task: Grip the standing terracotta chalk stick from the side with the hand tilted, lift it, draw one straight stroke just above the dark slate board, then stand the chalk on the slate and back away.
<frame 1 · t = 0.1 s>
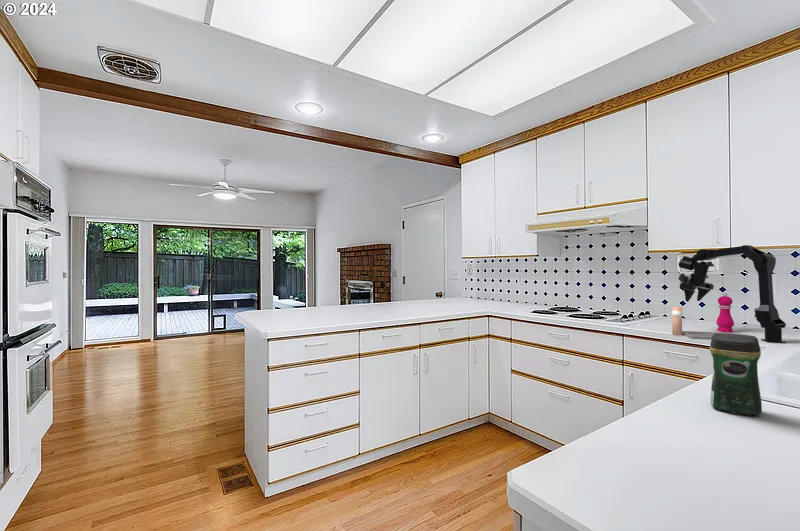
hand: (692, 301, 214), 15 cm above the countertop, tool pointing down, fingers open, 9 cm apart
coffee jar: (735, 411, 98), on the countertop
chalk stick: (677, 334, 200), on the countertop
pepper mill: (725, 331, 209), on the countertop
slate board: (706, 336, 195), on the countertop
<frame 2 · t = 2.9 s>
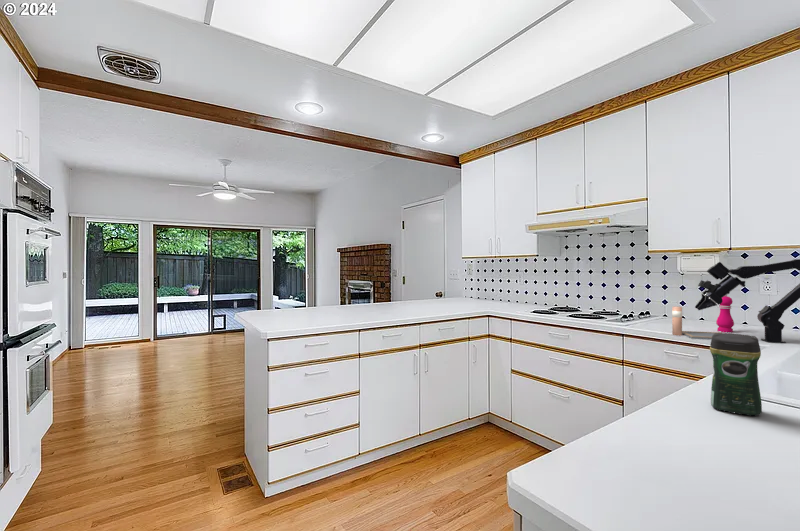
hand: (696, 308, 196), 13 cm above the countertop, tool tilted 45°, fingers open, 9 cm apart
nothing on the countertop moved.
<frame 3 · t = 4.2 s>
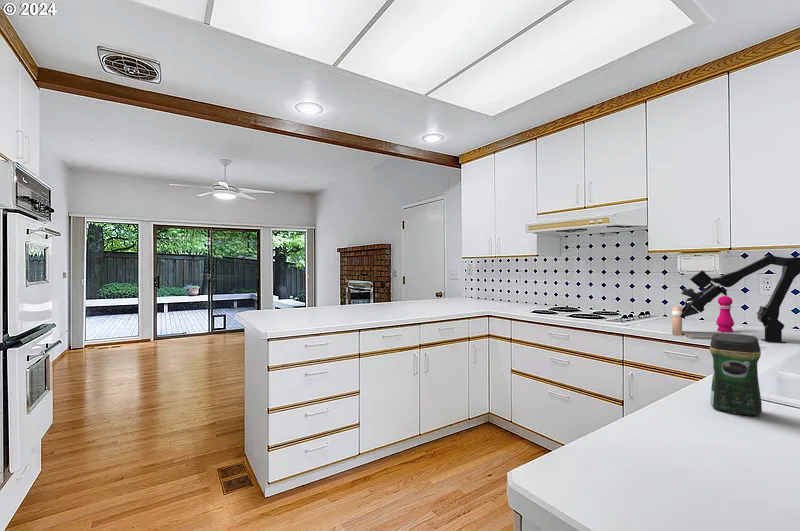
hand: (679, 316, 200), 9 cm above the countertop, tool tilted 45°, fingers open, 9 cm apart
nothing on the countertop moved.
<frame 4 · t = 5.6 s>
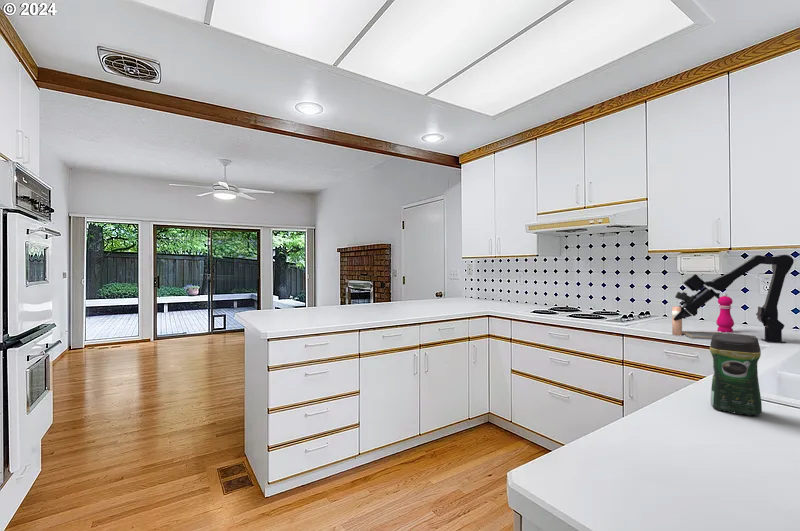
hand: (673, 319, 201), 8 cm above the countertop, tool tilted 45°, fingers closed on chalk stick, 4 cm apart
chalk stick: (677, 334, 200), on the countertop, touching gripper
everything else where it was.
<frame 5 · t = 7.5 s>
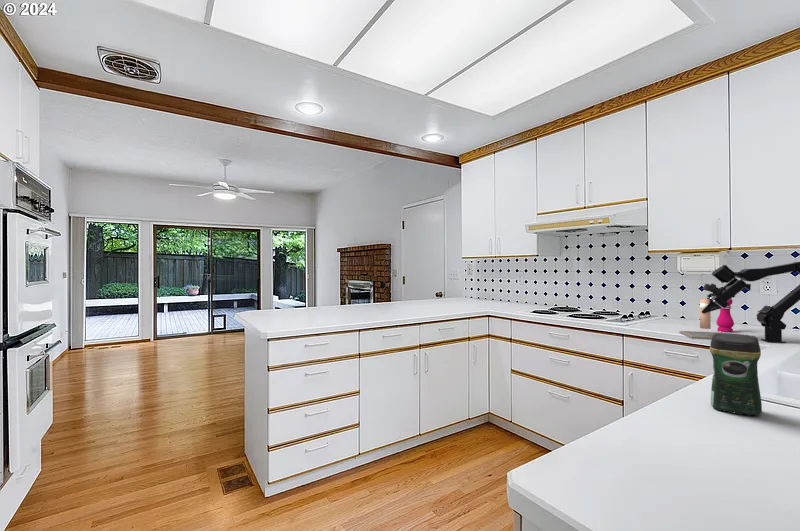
hand: (701, 312, 193), 12 cm above the countertop, tool tilted 45°, fingers closed on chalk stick, 4 cm apart
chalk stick: (705, 328, 193), point 5 cm above the countertop, touching gripper
everything else where it was.
when the fingers open (9 cm above the countertop, at t = 9.7 s): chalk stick stays where it is, resting on slate board.
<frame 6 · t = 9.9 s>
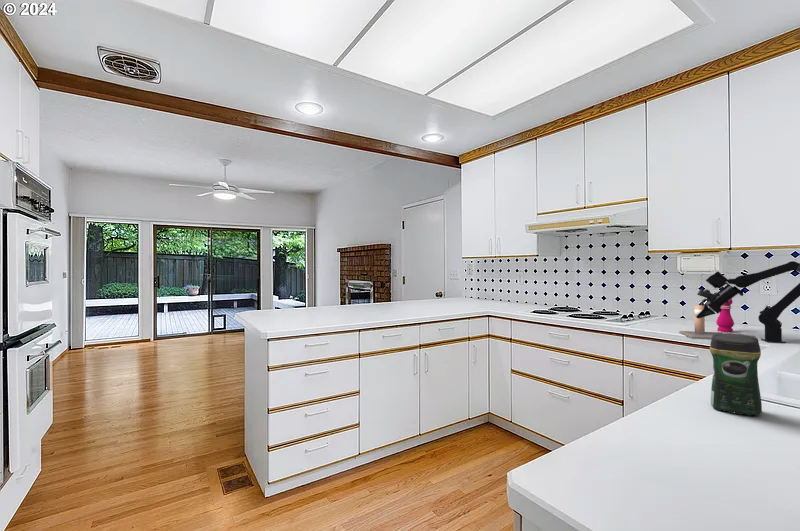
hand: (696, 317, 199), 9 cm above the countertop, tool tilted 45°, fingers open, 6 cm apart
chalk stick: (699, 333, 199), point 1 cm above the countertop, touching slate board
everything else where it was.
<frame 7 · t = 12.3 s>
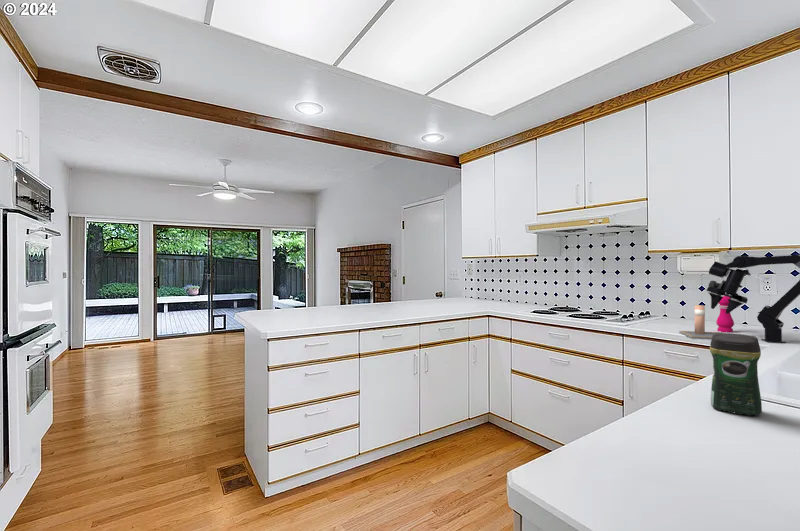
hand: (719, 311, 196), 12 cm above the countertop, tool tilted 20°, fingers open, 9 cm apart
nothing on the countertop moved.
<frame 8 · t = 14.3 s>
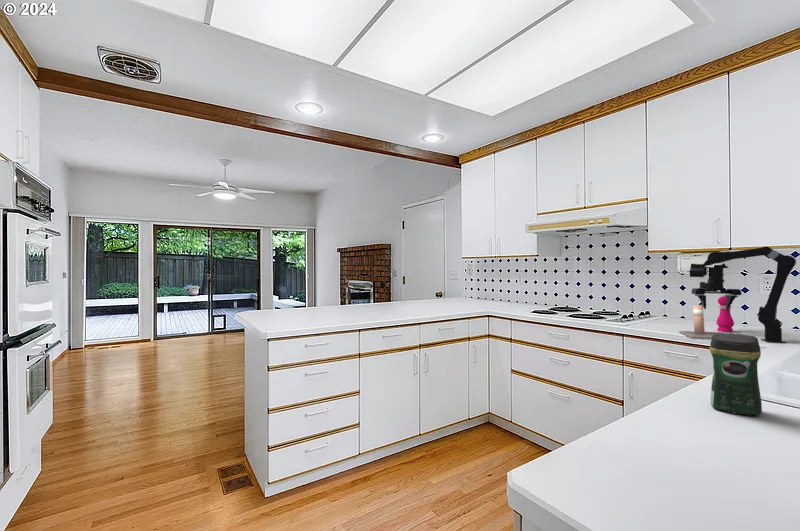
hand: (715, 309, 197), 13 cm above the countertop, tool pointing down, fingers open, 9 cm apart
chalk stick: (699, 333, 199), point 1 cm above the countertop, touching gripper, slate board
everything else where it was.
at the end: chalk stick inside the target area on the slate board (3.6 cm from its centre), point 0.9 cm above the slate board's base; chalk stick tilted 3°; the gripper is holding nothing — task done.
